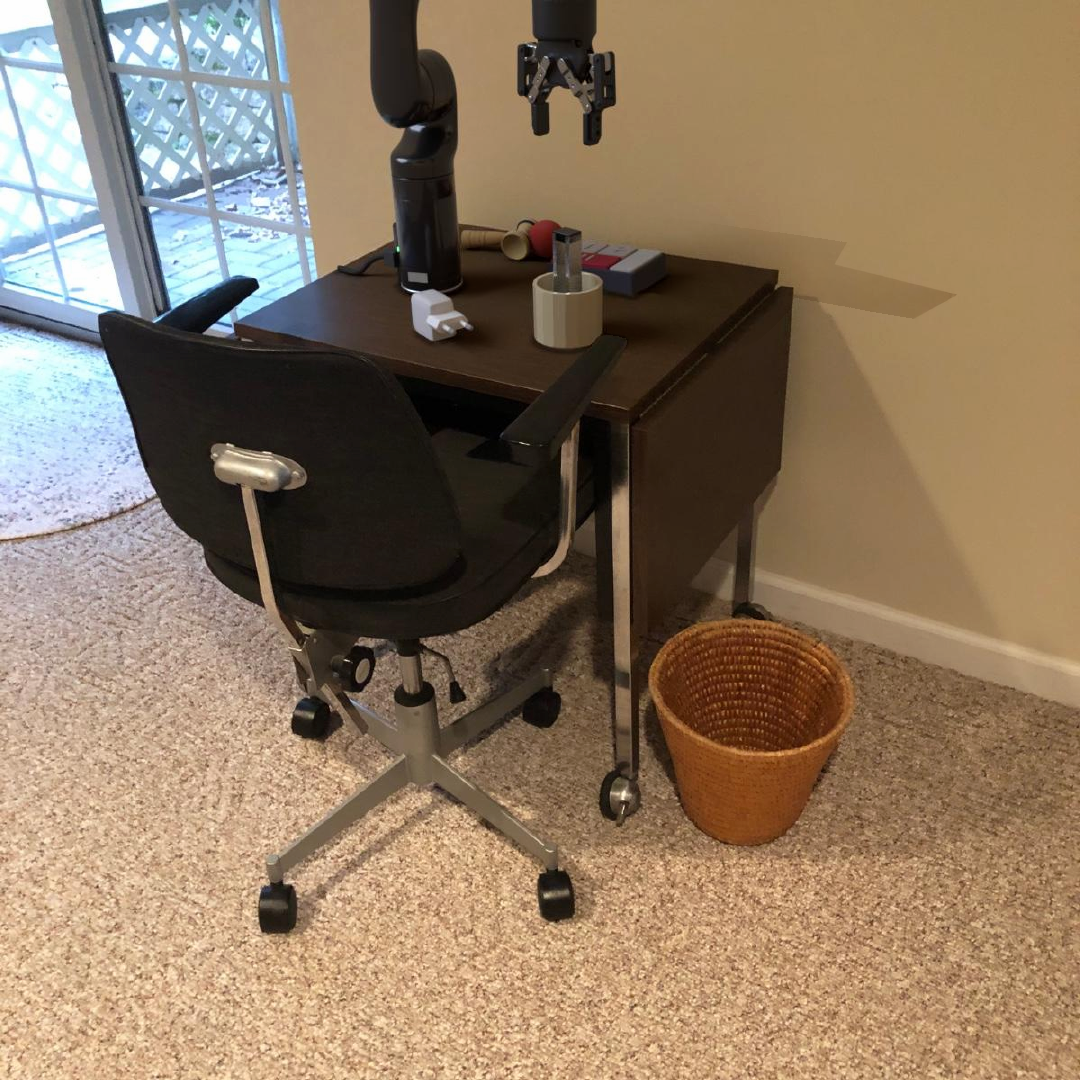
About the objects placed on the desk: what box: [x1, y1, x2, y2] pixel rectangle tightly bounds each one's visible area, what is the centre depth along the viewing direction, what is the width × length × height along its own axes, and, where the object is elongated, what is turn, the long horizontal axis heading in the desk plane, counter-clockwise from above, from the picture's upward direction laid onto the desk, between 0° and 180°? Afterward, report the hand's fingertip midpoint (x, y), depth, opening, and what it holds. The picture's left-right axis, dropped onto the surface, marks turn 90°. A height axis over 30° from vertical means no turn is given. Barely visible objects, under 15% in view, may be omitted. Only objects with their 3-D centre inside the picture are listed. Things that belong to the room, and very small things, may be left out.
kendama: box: [460, 217, 563, 261], centre depth 176 cm, size 8×6×18 cm
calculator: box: [546, 241, 667, 296], centre depth 164 cm, size 11×4×15 cm
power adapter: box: [410, 289, 474, 342], centre depth 145 cm, size 11×5×6 cm, turn 34°
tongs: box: [552, 226, 583, 293], centre depth 142 cm, size 3×3×14 cm
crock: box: [532, 271, 604, 349], centre depth 144 cm, size 9×9×8 cm
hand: (565, 139), depth 132 cm, fingers open, 8 cm apart
